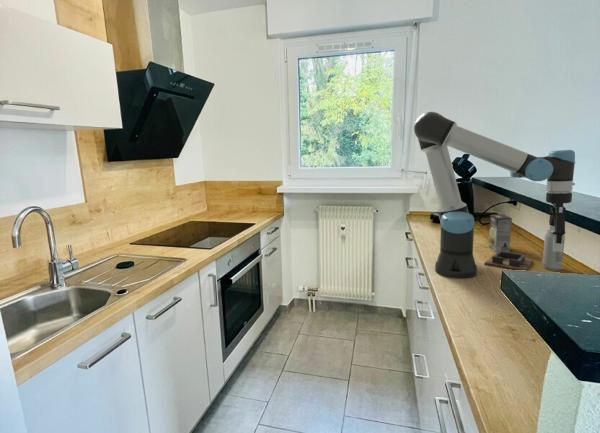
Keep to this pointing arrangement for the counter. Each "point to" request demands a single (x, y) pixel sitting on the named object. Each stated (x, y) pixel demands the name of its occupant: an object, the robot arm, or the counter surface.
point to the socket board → (509, 261)
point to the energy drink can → (551, 253)
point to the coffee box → (500, 232)
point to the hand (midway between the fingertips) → (555, 246)
